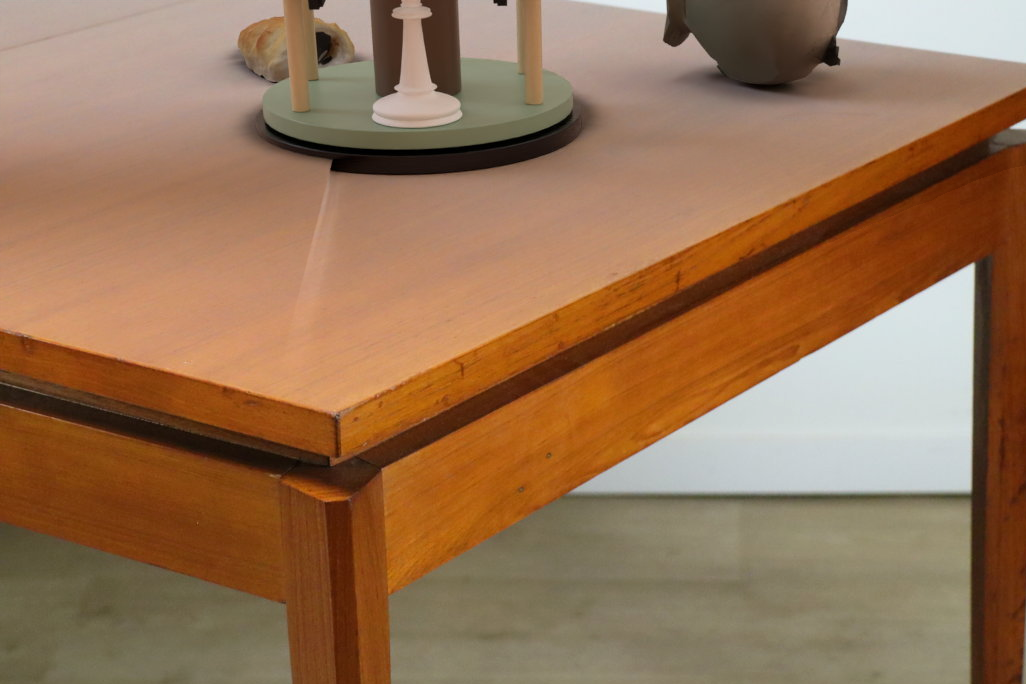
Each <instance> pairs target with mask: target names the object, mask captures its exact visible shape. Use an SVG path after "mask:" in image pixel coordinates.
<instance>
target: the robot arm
mask: <svg viewBox="0 0 1026 684" xmlns="http://www.w3.org/2000/svg"><path fill="white" fill-rule="evenodd" d="M326 1H327V0H308V6H309V10H314V11H318V10H319V11H320V9H321V8H324V6H325V3H326ZM492 2H493V5H494V4H496V6H497V7H507V6H508V0H493V1H492Z"/></svg>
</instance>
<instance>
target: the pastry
mask: <svg viewBox="0 0 1026 684" xmlns="http://www.w3.org/2000/svg"><path fill="white" fill-rule="evenodd" d="M314 22H315V35H316V47H317V60H318V69H321V68H325V67H330V66H335V65H341V64H347V63H352V62H353V59H354V57H355V52H356V51H355V50H356V49H355V45H354V43H353V41H352V40H351V38H350V36H349V33H348V31H346V30H344V29H341V28H340V26H339V25H338V24H337V22H331V23H329V22H325V21H324V20H323V19H321V18H320V17H314ZM237 48H238V49H239V53H240V54H241V56H242V57H243V58H244V61H245V64H246V67H247V68H248V70H250V71H253V73H254V74H255V75H258V76H259V77H261V76H263V77H264V79H265V80H266V81H268V82H274V83H275V82H276V83H278V82H280V81H282V80H285V79H287V78H289V66H288V55H287V44H286V32H285V21H284V15H283V16H273V17H269V18H265V19H261V20H259V21H257V22H253V23H251V24H250V25H248V26H246V27H245V28H244V29H242V30H241V31H240V32H239V35H238V38H237Z"/></svg>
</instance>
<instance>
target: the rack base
mask: <svg viewBox="0 0 1026 684" xmlns="http://www.w3.org/2000/svg"><path fill="white" fill-rule="evenodd" d="M582 116H583V115H582V106H581V104H580V103H579V101H578V100H577V99H576V98H575V97H573V108H572V110H571V113H570V114H569V115H568V116H567V117H566V118H565V119H563V120H562V121H560V122H559V123H557V124H555V125H552V126H550V127H548V128H546V129H543V130H540V131H537V132H535V133H531V134H527V135H524V136H520V137H516V138H511V139H507V140H502V141H496V142H491V143H485V144H477V145H469V146H461V147H450V148H436V149H410V150H388V149H363V148H350V147H340V146H332V145H326V144H319V143H314V142H309V141H305V140H301V139H297V138H294V137H291V136H288V135H285V134H283V133H280V132H278V131H277V130H275V129H273V128H272V127H270V126H269V125H268V124H267V123H266V121H265V119H264V116H263V108H261V109H260V110H259V111H258V112H257V114H256V116H255V121H254V122H255V123H254V124H255V130H256V132H257V134H258V135H259V136H260V137H261V138H262V140H264V141H265V142H267V143H269V144H270V145H273V146H275V147H277V148H280V149H282V150H286V151H289V152H291V153H295V154H299V155H304V156H308V157H314V158H320V159H327V160H331V163H330V168H329V171H338V172H345V173H346V172H347V173H358V174H371V175H376V174H377V175H378V174H379V175H423V174H426V175H427V174H443V173H454V172H464V171H465V172H466V171H473V170H481V169H482V170H483V169H488V168H493V167H499V166H500V167H501V166H505V165H511V164H514V163H518V162H523V161H526V160H531V159H534V158H537V157H540V156H544V155H545V154H549V153H551V152H554V151H557V150H559V149H560V148H562V147H564V146H566V145H568V144H570V143H571V142H572V141H574V140H575V139H576V138H577V137H578V135H579V134H580V132H581V129H582V128H583V127H582V126H583V125H582V124H583V123H582V119H583V118H582Z"/></svg>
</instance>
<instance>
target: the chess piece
mask: <svg viewBox="0 0 1026 684" xmlns="http://www.w3.org/2000/svg"><path fill="white" fill-rule="evenodd" d="M401 1H402V4H400V6H402V7H398V8H395V9H393V13H392V17H394V18H398V19H403V47H402V63H401V75H400V83H399V84H398V85H396V86H395V87H394V89H395V90H397V91H399V92H397V93H394V94H391V95H388V96H385V97H383V98H381V99H379V100H377V101H376V102H375V103H374V104H373V111H374V113H373V115H372V119H373V121H375V122H376V123H378V124H381V125H384V126H389V127H397V128H427V127H436V126H441V125H446V124H449V123H452V122H455V121H457V120H459V119H460V118H461V117H462V112H461V110H460V106H461V104H460V102H459V100H458V99H456V98H455V97H453V96H450V95H447V94H444V93H441V92H435V91H434V90H435V89H436V88H437V85H436V84H433V83H432V82H431V78H430V74H429V69H428V63H427V57H426V51H425V45H424V39H423V32H422V25H421V19H422V18H427V17H430V16H431V15H432V13H431V12H430V10H431V9H430V8H428V7H424V6H422V3H420V1H421V0H401Z"/></svg>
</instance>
